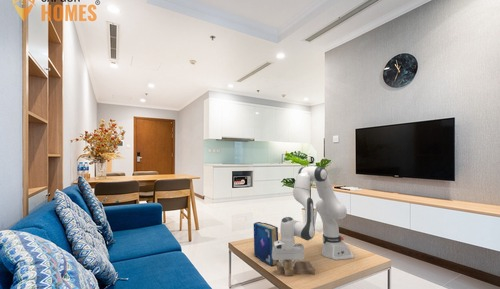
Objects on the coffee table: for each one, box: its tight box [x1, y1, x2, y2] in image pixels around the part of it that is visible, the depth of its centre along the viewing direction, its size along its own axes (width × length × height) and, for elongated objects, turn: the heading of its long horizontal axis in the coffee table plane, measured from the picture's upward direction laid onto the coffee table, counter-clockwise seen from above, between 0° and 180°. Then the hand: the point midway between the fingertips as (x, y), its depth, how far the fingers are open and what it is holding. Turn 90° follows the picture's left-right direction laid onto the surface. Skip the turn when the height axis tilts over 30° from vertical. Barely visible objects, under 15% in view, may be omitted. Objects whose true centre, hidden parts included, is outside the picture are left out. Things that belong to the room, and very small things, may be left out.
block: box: [282, 260, 294, 277], centre depth 146 cm, size 5×8×7 cm, turn 1°
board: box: [276, 260, 315, 276], centre depth 151 cm, size 22×12×2 cm, turn 91°
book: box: [253, 221, 280, 267], centre depth 166 cm, size 22×7×25 cm, turn 35°
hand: (287, 266), depth 147 cm, fingers closed on block, 5 cm apart
